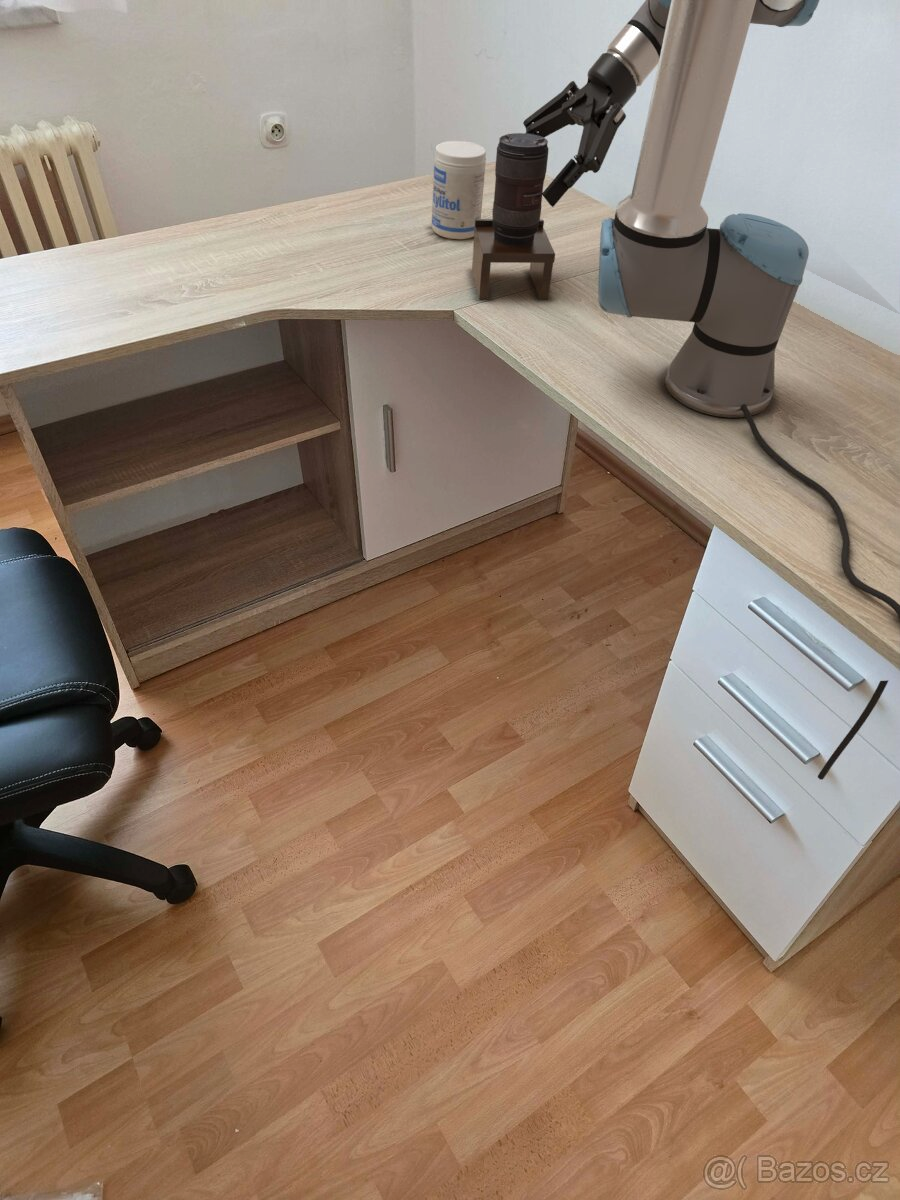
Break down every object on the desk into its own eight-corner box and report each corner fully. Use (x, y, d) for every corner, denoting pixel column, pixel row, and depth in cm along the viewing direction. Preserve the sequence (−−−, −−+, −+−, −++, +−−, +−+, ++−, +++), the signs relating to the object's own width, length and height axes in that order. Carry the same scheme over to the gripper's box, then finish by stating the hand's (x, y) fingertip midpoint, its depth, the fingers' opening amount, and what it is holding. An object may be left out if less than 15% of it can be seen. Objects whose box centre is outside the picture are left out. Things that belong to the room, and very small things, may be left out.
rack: (548, 301, 134) (556, 247, 128) (479, 301, 133) (483, 247, 126) (536, 270, 142) (543, 219, 136) (471, 270, 141) (474, 218, 135)
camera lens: (538, 231, 135) (550, 133, 124) (537, 250, 129) (549, 149, 118) (491, 227, 135) (499, 129, 124) (488, 246, 129) (496, 145, 119)
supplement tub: (424, 235, 151) (425, 151, 141) (441, 218, 158) (444, 137, 147) (471, 244, 149) (476, 160, 139) (487, 227, 156) (493, 145, 145)
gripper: (680, 111, 116) (578, 229, 121) (589, 69, 131) (502, 176, 137) (660, 71, 110) (553, 197, 116) (566, 32, 125) (477, 145, 131)
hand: (525, 186), depth 126 cm, fingers open, 13 cm apart
